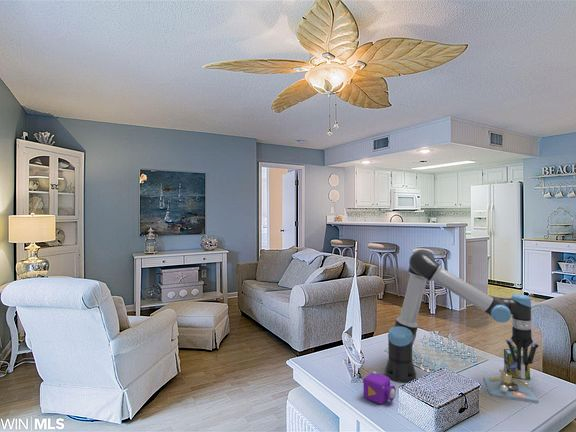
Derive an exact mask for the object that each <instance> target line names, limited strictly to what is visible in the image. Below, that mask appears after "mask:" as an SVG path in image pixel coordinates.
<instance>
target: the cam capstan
mask: <svg viewBox="0 0 576 432" xmlns="http://www.w3.org/2000/svg"><path fill="white" fill-rule="evenodd" d="M499 372H500V376H495V377H494V376H493V377H491V378H489V381H490V382H494V381H501V382H500V385H501V386H500V389H501V390H502V391H503V392H507V391H508V390H513V391H515V390H518V385H517V384H520V385H524V386H526V387H528V386H529V387H530V383H528V382H526V381H522V380H520V379H517V378H512V374H511V373H509V372H505V370H504V368H500V369H499ZM513 382H514V383H513ZM515 383H517V384H515Z"/></svg>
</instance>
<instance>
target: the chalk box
mask: <svg viewBox="0 0 576 432" xmlns="http://www.w3.org/2000/svg"><path fill="white" fill-rule="evenodd" d="M512 346H513V350H514V353H515V357H516V359H517V348H516V345H515V344H512ZM503 361H504V362H503V366H504V367H503V370H504V372H509V373H511V374H512V378H513V379H523V378H521V377H520V370H518V369H517V362H514V361H513V359H512V356H511V352H510V349H509V348H503ZM521 362H522V363H523V349H521ZM530 365H531V364H528V365H527V371H525V380H531V369H530V367H531V366H530Z"/></svg>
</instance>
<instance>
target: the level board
mask: <svg viewBox="0 0 576 432" xmlns="http://www.w3.org/2000/svg"><path fill="white" fill-rule="evenodd" d="M489 378H492V377H489V376H482V379H483V382H484V384H485V386H486V388H487V390H488V393H489V395H490V397H494V398H499V399H509V400H515V401H521V402H528V403H534V404H539V403H540V402H539V398H537V396H536V395H535V394H534V392H533V391H532V389H531V388H530V385H529V386H528V387H526V386H524V385H520V384H517V383H515V384H517V385H518V390H515V391H513V390H508V391H507V392H503V391H502V390H501V389H500V386H501V385H500V382H501V381H494V382H490V381H489ZM513 383H514V382H513Z"/></svg>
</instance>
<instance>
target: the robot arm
mask: <svg viewBox="0 0 576 432" xmlns="http://www.w3.org/2000/svg"><path fill="white" fill-rule="evenodd" d="M408 261H409V267H408V274H409V278H408V282H407V287H406V291H405V295H404V299H403V301H402V302H403V303H402V306H401V311H400V314H399V316H397V317H396V319H395V322H394V326H393V327H391V328H389V329H388V333H387V339H388V343H387V344H388V346H387V347H388V349H387V350H388V351H387V352H388V359H387V363H386V365H385V369H384V372H385V373H384V376H387V377H389V378H390V381H394V382H398V383H406V382H407V383H410V382H409V381H412V380H414V379H416V380H417V371H416V369H415V366H414V362H413V346H414V343H415V341H416V338H417V332H418V328H419V324H418V323H417V320H418V316H419V312H420V308H421V303H422V299H423V296H424V294H425V293H424V292H425V290H426V289H425V287H426V284H427V281H429V282H435V283H437V284H439V285H440V286H442V287H443V288H444V289H446V290H448V291H450V292H452V294H454V295H456V296H458V297H460V298H461V299H463V300H465V301H466V302H467V303H469V304H471V305H472V306H474V307H475V308H477V309H479V310H481V311H482V312H484V313H486V314H487V315H489V316H491V318H492V319H493V320H494V321H495V322H498V323H501V324H502V323H503V324H504V323H507V322H509V321H510V320H511V326H512V335H511V337H510V339H506V340H505V342H506V344H507V345H508V349H510V352H511V356H512V359H513V361H514V362H517V369H518V370H520V377H521V378H520V379H522V378H523V379H525V371H527V365H528V364H530V365H532V364H533V361H534V357H535V355H536V351H537V349H538V347H539V344H538V343H537V342H534V341H533V339H532V300H531V299H532V298H531V297H530V296H528V295H525V294H521V293H518V294H516V293H514V294H512V295H511V298H510V297H509V298H508V297H499V296H498V297H497V296H496V297H495V296H490V295H488V294H487V293H485V292H483V291H482V290H480V289H479V288H476V287H475V286H474V285H472V284H470V283H468V282H467V281H464V280H463V279H461V278H460V277H458V276H456V275H455V274H453V273H451V272H449V271H448V270H446V269H444V268H443V267H442V264H440V263H438V262H437V261H436V258H435V256H434V254H433V253H432V252H431V251H429V250H427V249H417V250H415V251H414V253H412V254H411V256H410V257H409V260H408ZM513 343H514V344H513ZM512 344H513V345H514V346H515V348H516V350H517V359H516V357H515V353H514V350H513V346H512ZM530 346H531V347H530ZM529 347H530V350H529V349H528V348H529ZM521 350H523V363H522V362H521ZM528 350H529V354H528ZM525 380H526V379H525ZM407 383H406V384H407Z"/></svg>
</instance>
